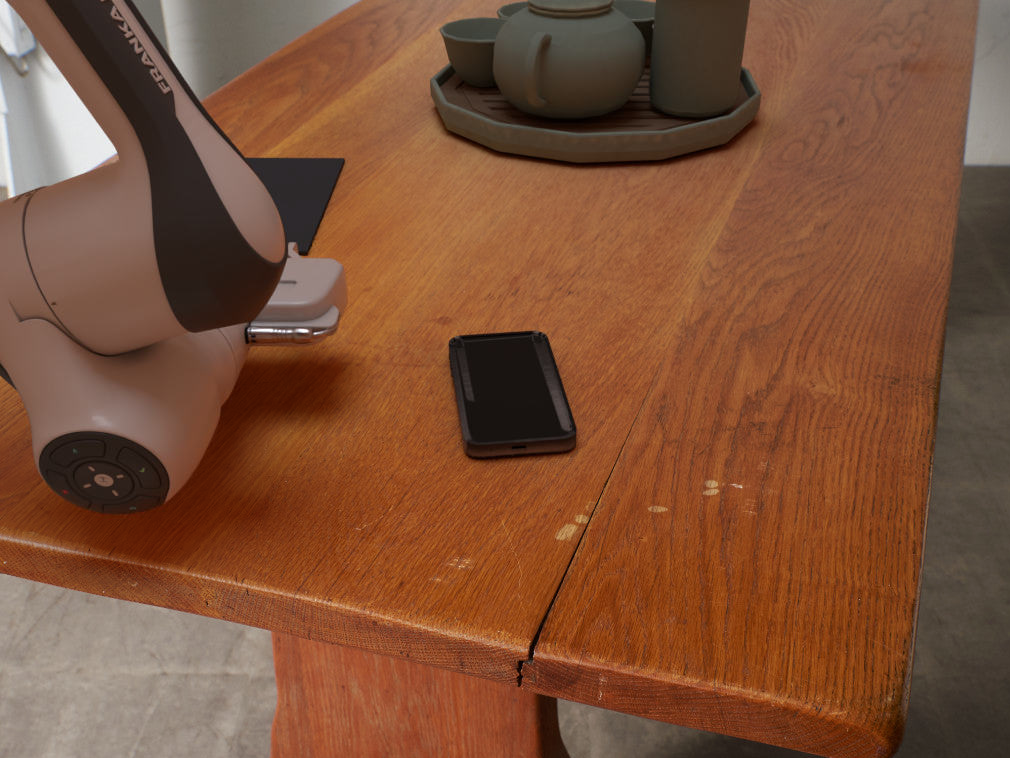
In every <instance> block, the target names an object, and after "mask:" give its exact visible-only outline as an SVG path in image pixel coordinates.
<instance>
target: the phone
mask: <svg viewBox="0 0 1010 758" xmlns="http://www.w3.org/2000/svg"><path fill="white" fill-rule="evenodd" d="M448 359H449V368H450V375H451V376H450V377H451V378H452V382H453V389H454V394H455V402H456V407H457V414H458V420H459V427H460V432H461V439H462V444H463V445H462V446H463V450H464V453H465V454H466V455H468V456H469V457H472V458H475V459H490V458H503V457H504V458H505V457H514V456H515V457H516V456H528V455H529V456H531V455H543V454H555V453H565V452H569V451H571V450H573V449H574V448H575V447H576V445H577V435H578V434H577V433H578V432H577V431H578V430H577V424H576V421H575V417H574V415H573V412H572V409H571V405H570V403H569V400H568V396H567V394H566V390H565V387H564V383H563V380H562V377H561V374H560V371H559V367H558V364H557V362H556V359H555V355H554V352H553V349H552V346H551V341H550V339H549V337H548V335H547V334H546V333H545V332H542V331H541V330H519V331H506V332H505V331H503V332H490V333H488V332H487V333H475V334H461V335H460V334H459V335H456V336H453V337H451V338H450V339H449V341H448Z"/></svg>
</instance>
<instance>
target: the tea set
mask: <svg viewBox="0 0 1010 758" xmlns="http://www.w3.org/2000/svg"><path fill="white" fill-rule="evenodd" d="M750 4H751V0H655V1H649V0H525V1H524V0H523V1H516V2H512V3H508V4H504V5H502V6H501V7H500V8H498V9H497V10H496V15H497V17H489V16H487V17H484V16H481V17H470V18H469V17H468V18H461V19H458V20H454V21H450V22H446V23H445V24H444V25H442V26H441V27H440V28H439V29H438V31H439V33H440V35H441V37H442V39H443V43H444V47H445V50H446V54H447V58H448V63H447V64H446V65H445V66H444V67H442V68H441V69H440V70H439V71H438V72H436V73H435V75H433V76H432V77H431V78H430V79H429V88H430V90H429V92H430V97H431V99H432V101H433V104H434V105H435V107H436V109H437V111H438V113H439V116H440V117H441V120H442V122H443V124H444V126H445V128H446V130H447V131H450V132H453V133H454V134H456V135H459V136H462V137H464V138H466V139H469V140H471V141H474V142H476V143H477V144H480V145H483V146H485V147H487V148H489V149H492V150H495V151H497V152H501V153H505V154H506V153H508V154H513V155H521V156H528V157H535V158H541V159H547V160H556V161H563V162H567V163H568V162H569V163H574V164H575V163H577V164H587V163H589V164H590V163H614V162H642V161H643V162H644V161H661V160H666V159H669V158H673V157H677V156H681V155H684V154H685V155H686V154H689V153H693V152H696V151H701V150H704V149H709V148H713V147H717V146H720V145H721V146H722V145H725V144H727V143H728V142H729V141H730V140H732V139H733V138H734V137H735V136H736V135H737V134H739V133H740V132H741V131H743V129H744V128H746V127H747V126H748V125H749V124H750V123H751V122H752V121H754V119H755V118H756V117H757V114H758V113H759V111H760V107H761V100H762V92H761V90H760V89H759V86H758V85H757V83H756V81H755V79H754V76H753V75H752V73H751V71H750V70H749V69H748V68H746V67H743V58H744V51H745V44H746V43H745V42H746V36H747V28H748V21H749V12H750V6H751V5H750Z"/></svg>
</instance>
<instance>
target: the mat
mask: <svg viewBox="0 0 1010 758" xmlns="http://www.w3.org/2000/svg"><path fill="white" fill-rule="evenodd" d="M245 158H246V159H247V161H248V162H249V163H250V164H251V166H252V167H253V168H254V170H255V171H256V173H257V174H258V175H259V177H260V178H261V180H262V181H263V183H264V184H265V186H266V188H267V189H268V191H269V193H270V195H271V196H272V198H273V200H274V202H275V204H276V206H277V209H278V211H279V213H280V216H281V219H282V221H283V224H284V228H285V231H286V235H287V241H288V242H296V243H297V247H298V254H299V256H308V255H309V253H310V251H311V247H312V245H313V242H314V240H315V237H316V235H317V232H318V230H319V227H320V225H321V223H322V220H323V217H324V215H325V213H326V210H327V207H328V205H329V202H330V200H331V197H332V195H333V193H334V189H335V187H336V185H337V182H338V180H339V178H340V175H341V172H342V170H343V168H344V166H345V163H346V158H345V157H245Z"/></svg>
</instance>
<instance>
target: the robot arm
mask: <svg viewBox="0 0 1010 758" xmlns="http://www.w3.org/2000/svg"><path fill="white" fill-rule="evenodd" d="M4 1H5V2H6V3H7V4H8V5H9V6H10V7H11V8H12V9H13V10H14V11H15V12H16V14H17V15H18V16H19V17H20V19H21V20H22V21H23V22H24V23H25V25H26V27H27V29H28V30H29V31H30V33H31V34H32V35H33V36H34V38H35V39H36V40H37V42H38V43H39V45H40V46H41V47H42V49H43V50H44V52H45V53H46V55H47V56H48V57H49V59H50V60H51V61H52V63H53V64H54V65H55V67H56V68H57V69H58V71H59V73H60V74H61V75H62V76H63V78H64V79H65V80H66V82H67V84H68V85H69V87H71V89H72V91H74V93H75V94H76V96H77V98H78V99H79V100H80V101H81V102H82V104H83V106H85V108H86V109H87V111H88V113H90V115H91V116H92V118H93V119H94V121H95V122H96V123H97V125H98V126H99V127H100V129H101V130H102V132H103V133H104V134H105V135H106V137H107V138H108V140H109V142H111V144H112V146H113V147H114V149H115V151H116V153H117V156H118V159H117V160H115V161H113V162H111V163H108V164H106V165H102V166H100V167H97V168H94V169H92V170H88V171H86V172H83V173H80V174H78V175H75V176H72V177H70V178H67V179H64V180H61V181H58V182H55V183H53V184H50V185H43V186H39V187H36V188H33V189H31V190H28V191H26V192H23V193H20V194H17V195H15V196H12V197H9V198H7V199H3V200H1V201H0V378H2V379H3V380H4V381H5V382H6V383H8V384H9V385H10V386H11V387H12V388H13V389H14V390H15V391H16V392H17V393H18V396H19V397H20V400H21V401H22V403H23V406H24V408H25V411H26V414H27V416H28V421H29V424H30V431H31V443H32V445H31V446H32V455H33V460H34V464H35V467H36V469H37V472H38V474H39V476H40V478H41V479H42V480H43V481H44V483H45V485H47V486H48V488H50V490H51V491H52V492H54V493H55V494H56V495H57V496H58V497H60V498H61V499H63V500H65V501H66V502H68V503H70V504H72V505H74V506H76V507H79V508H82V509H83V510H87V511H89V512H94V513H98V514H104V515H117V516H118V515H130V514H131V515H132V514H137V513H142V512H147V511H150V510H154V509H156V508H158V507H160V506H163V505H164V504H166V503H168V501H170V500H171V499H172V498H173V497H174V496H176V495H177V494H178V493H179V492H180V490H181V489H182V488H183V487H184V486H185V485H186V484H187V482H188V481H189V479H190V478H191V477H192V475H193V474H194V472H195V471H196V469H197V468H198V466H199V465H200V463H201V461H202V460H203V457H204V455H205V454H206V451H207V450H208V448H209V445H210V443H211V441H212V439H213V436H214V434H215V431H216V430H217V428H218V425H219V421H220V418H221V409H222V407H223V405H224V404H225V403H226V402H227V400H228V399H229V397H230V396H231V394H232V392H233V390H234V387H235V385H236V383H237V381H238V378H239V376H240V373H241V371H242V369H243V367H244V365H245V363H246V360H247V358H248V355H249V352H250V351H251V347H294V348H296V347H297V348H298V347H299V348H301V347H310V346H314V345H318V344H320V343H322V342H324V341H325V340H326V339H328V338H329V337H331V336H334V335H336V333H337V332H338V329H339V326H340V323H341V320H342V318H343V316H344V314H345V312H346V310H347V307H348V302H349V293H348V282H347V276H346V275H347V274H346V270H345V266H344V265H343V264H342V263H340V262H339V261H338V260H337V259H334V258H331V257H302V256H301V255H299V254H298V247H297V243H296V242H288V241H287V235H286V231H285V228H284V224H283V221H282V219H281V216H280V213H279V211H278V209H277V206H276V204H275V202H274V200H273V198H272V196H271V195H270V193H269V191H268V189H267V188H266V186H265V184H264V183H263V181H262V180H261V178H260V177H259V175H258V174H257V173H256V171H255V170H254V168H253V167H252V166H251V164H250V163H249V162H248V161H247V159H246V158H247V157H246V156H245V155H244V154H243V153H242V152H241V151H240V150H239V148H238V147H237V145H236V144H235V143H234V142H233V141H232V140H231V138H229V136H228V135H227V134H226V133H225V132H224V131H223V130H222V127H220V126H219V124H218V123H217V122H216V121H215V120H214V119H213V117H212V116H211V115H210V113H209V111H207V110H206V108H205V106H204V104H202V102H201V101H200V99H199V98H198V97H197V95H196V94H195V91H193V89H192V88H191V86H190V84H189V83H188V82H187V81H186V78H185V77H184V76H183V74H182V73H181V71H180V69H179V68H178V67H177V65H176V64H175V63H174V61H173V59H172V58H171V56H170V55H169V54H168V52H167V50H166V48H164V46H163V44H162V43H161V42H160V39H159V38H158V37H157V35H156V33H155V32H154V30H152V28H151V26H150V24H149V23H148V22H147V20H146V19H145V17H144V16H143V14H142V12H141V11H140V10H139V9H138V7H137V5H136V4H135V2H134V1H133V0H4Z"/></svg>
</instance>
